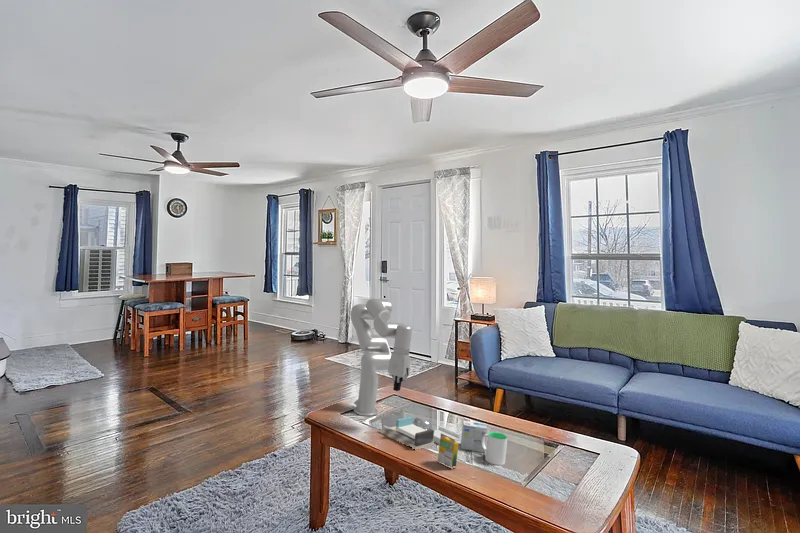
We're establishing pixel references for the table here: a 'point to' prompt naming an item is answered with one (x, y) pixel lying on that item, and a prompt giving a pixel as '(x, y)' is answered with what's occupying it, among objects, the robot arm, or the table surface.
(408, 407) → the table surface
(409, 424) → the toy bed
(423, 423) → the loose roller
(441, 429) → the roller rack
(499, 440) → the mug
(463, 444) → the light bulb box
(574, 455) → the table surface
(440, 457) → the crayon box
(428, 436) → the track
